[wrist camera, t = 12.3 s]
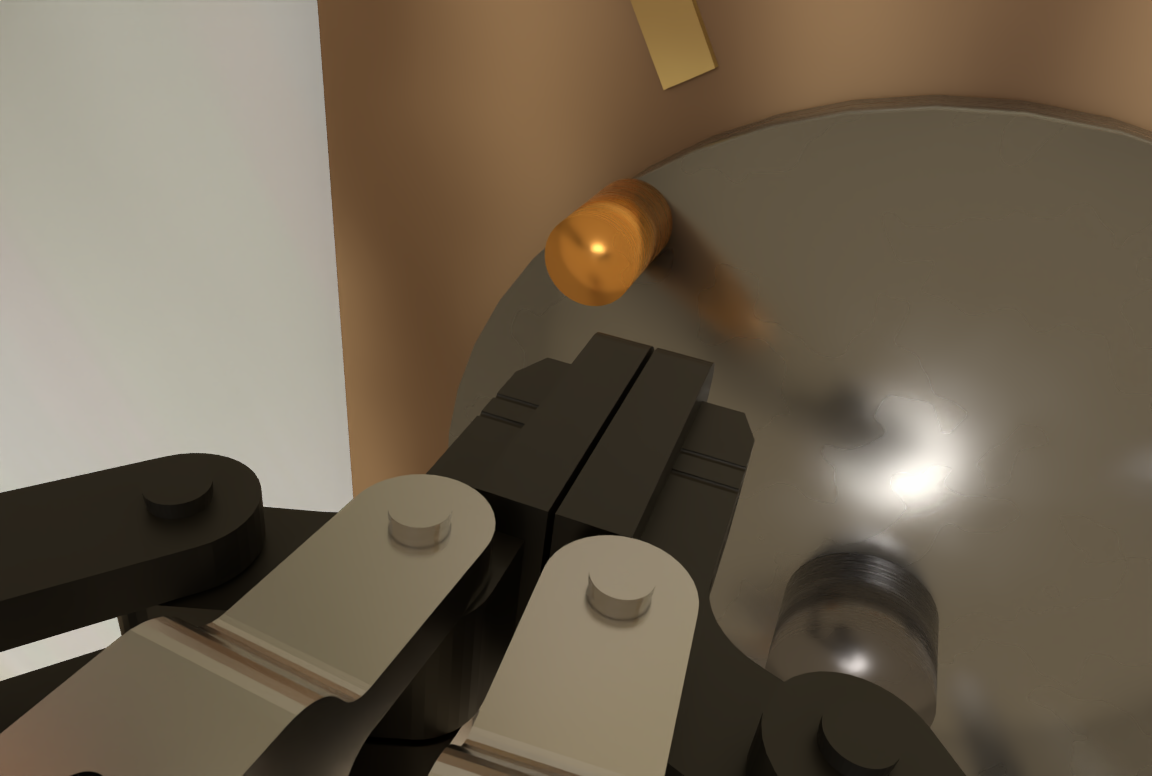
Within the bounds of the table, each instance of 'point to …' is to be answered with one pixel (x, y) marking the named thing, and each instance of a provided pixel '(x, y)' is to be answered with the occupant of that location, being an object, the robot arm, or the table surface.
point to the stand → (610, 139)
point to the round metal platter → (905, 400)
